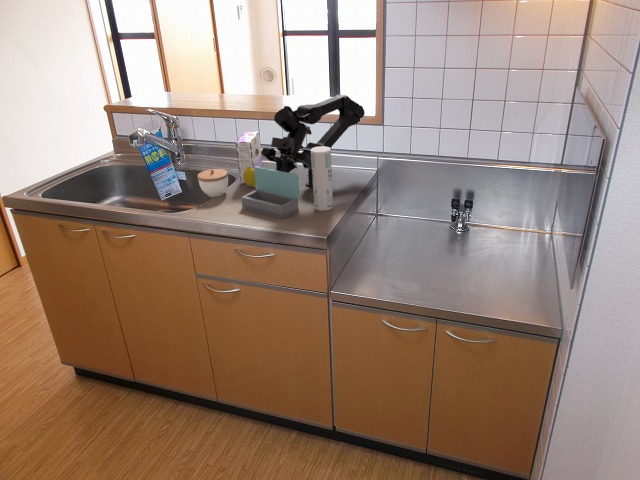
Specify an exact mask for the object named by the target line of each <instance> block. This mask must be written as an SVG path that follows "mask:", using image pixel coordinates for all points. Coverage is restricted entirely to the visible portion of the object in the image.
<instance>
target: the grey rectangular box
mask: <svg viewBox="0 0 640 480" xmlns="http://www.w3.org/2000/svg"><path fill="white" fill-rule="evenodd" d="M240 199H241V208H242V209H245V210H248V211H252V212H256V213H258V214H259V213H260V214H264V215H268V216H272V217H275V218H279V219H282V220H284V219H287V218H288V217H290V216H291V215H293V214H294V213H296V212H298V211H299V199H296V198H292V197H288V196H284V195H279V194H275V193H271V192H266V191H262V190H258V189H255V190H252V191H251V192H249V193H246V194H245V195H243V196H241V198H240Z"/></svg>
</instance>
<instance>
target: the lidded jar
mask: <svg viewBox="0 0 640 480" xmlns="http://www.w3.org/2000/svg"><path fill="white" fill-rule="evenodd" d="M228 175H229V174H228V171H227V170H226V169H224V168H223V169H222V168H210V169H206V170H203V171H200V172H199V173H198V174H197V179H198V183H199V187H200V189H201V191H202V192H203V193H204V194H206V196H207V197H210V198H215V197H220V196H223V195H224V194H225V192H226V191H227V189H228V186H229V177H228Z"/></svg>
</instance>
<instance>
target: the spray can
mask: <svg viewBox="0 0 640 480" xmlns="http://www.w3.org/2000/svg"><path fill="white" fill-rule="evenodd" d="M331 148H332V147H331ZM331 148H329V147H325V146H319V147H314V148H312V149H311V165H312V179H313V187H312V191H313V192H312V193H313V204H314V205H313V207H314V210H317V211H319V212H320V211H321V212H325V211H329V210H332V209H333V207H334V201H333V197H334V195H333V173H332V170H333V168H332V149H331Z"/></svg>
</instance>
